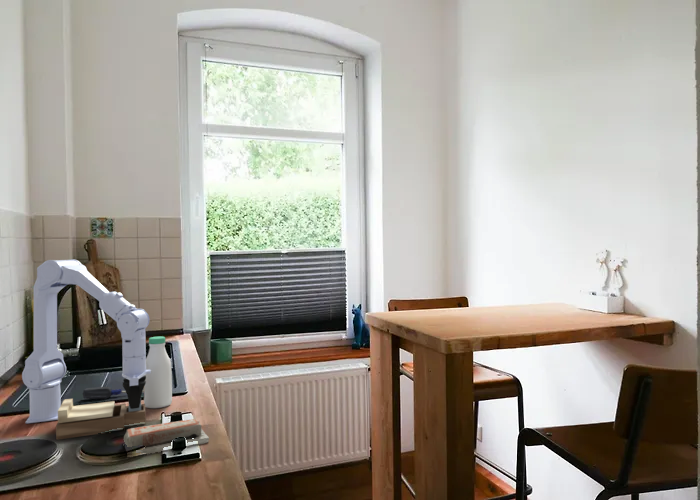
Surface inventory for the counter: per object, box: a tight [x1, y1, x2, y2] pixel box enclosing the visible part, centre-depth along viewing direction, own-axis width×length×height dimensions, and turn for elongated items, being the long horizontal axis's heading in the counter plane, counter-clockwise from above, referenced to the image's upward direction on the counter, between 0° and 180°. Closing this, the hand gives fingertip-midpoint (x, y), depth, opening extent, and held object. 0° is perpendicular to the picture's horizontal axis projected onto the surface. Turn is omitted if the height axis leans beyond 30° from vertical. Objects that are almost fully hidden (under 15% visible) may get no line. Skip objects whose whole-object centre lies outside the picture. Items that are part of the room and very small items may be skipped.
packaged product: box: [123, 418, 210, 455], centre depth 117 cm, size 18×5×10 cm
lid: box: [57, 398, 116, 423], centre depth 128 cm, size 10×12×3 cm
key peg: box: [128, 400, 142, 412], centre depth 133 cm, size 3×3×8 cm
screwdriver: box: [82, 386, 144, 400], centre depth 158 cm, size 26×4×4 cm, turn 112°
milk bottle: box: [143, 335, 173, 409], centre depth 147 cm, size 8×8×20 cm
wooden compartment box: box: [55, 403, 146, 441], centre depth 130 cm, size 12×20×3 cm, turn 112°
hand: (134, 406), depth 133 cm, fingers closed on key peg, 3 cm apart
